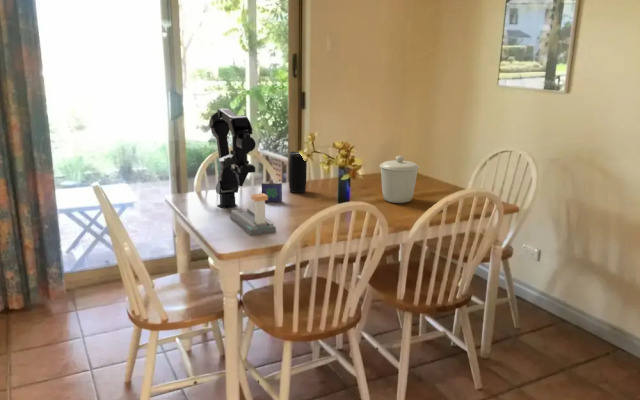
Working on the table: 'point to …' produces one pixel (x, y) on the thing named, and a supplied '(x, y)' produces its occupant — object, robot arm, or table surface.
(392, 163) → the canister
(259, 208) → the slider handle
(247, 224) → the fader track
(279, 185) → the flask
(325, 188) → the table surface
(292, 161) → the portable speaker
